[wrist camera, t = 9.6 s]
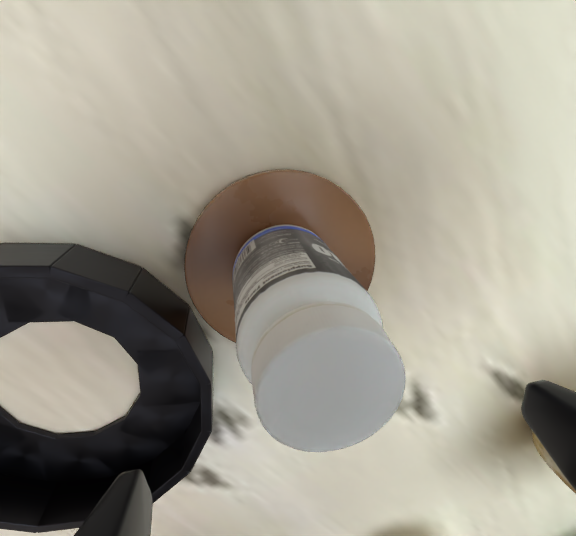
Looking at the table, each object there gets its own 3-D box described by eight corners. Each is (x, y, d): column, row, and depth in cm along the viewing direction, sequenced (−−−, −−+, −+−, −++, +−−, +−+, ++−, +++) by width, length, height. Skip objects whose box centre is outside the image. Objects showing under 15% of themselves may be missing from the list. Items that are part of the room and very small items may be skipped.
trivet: (357, 342, 20) (361, 347, 19) (188, 348, 18) (187, 354, 18) (385, 174, 16) (390, 175, 16) (181, 163, 15) (179, 164, 14)
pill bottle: (346, 286, 18) (443, 412, 10) (263, 331, 18) (294, 490, 10) (304, 202, 16) (384, 279, 8) (211, 254, 16) (202, 378, 8)
